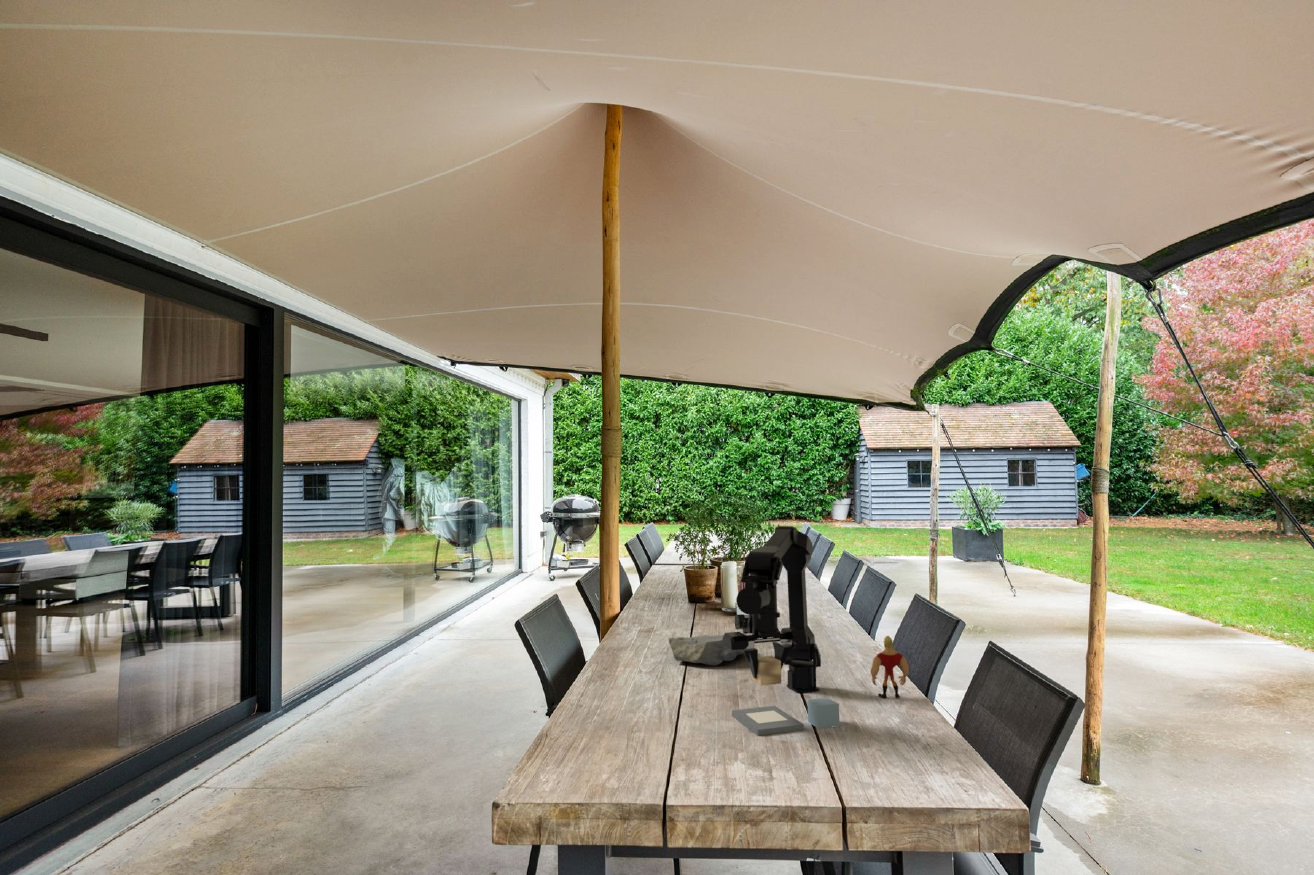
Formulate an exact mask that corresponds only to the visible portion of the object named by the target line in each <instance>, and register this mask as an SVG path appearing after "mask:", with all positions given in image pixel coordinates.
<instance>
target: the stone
mask: <svg viewBox="0 0 1314 875" xmlns="http://www.w3.org/2000/svg"><path fill="white" fill-rule="evenodd" d="M723 636H724V634H721V635H720V634H719V635H706V634H704V635H698V636H692V637H683V636H681V637H680V636H679V637H669V638H668V643H669V646H670V648H671V651H672V655H673V657H674V660H675V661H677V662H689V663H693V664H701V663H702V665H703V664H704V665H706V666H717V665H720V664H722V663H723V661H724V662H729V661H733V660H735V659H736V658H737V656H740V655H741V656H742V655H744V653H743V651H741V650H731V649H729V648H727V647H725V646H724V645H723Z"/></svg>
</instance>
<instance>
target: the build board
mask: <svg viewBox="0 0 1314 875" xmlns="http://www.w3.org/2000/svg"><path fill="white" fill-rule="evenodd" d="M731 716H732V717H733V718H734V719H735V718H736V719H735V720H737V721H738V722H739V723H740V722H741V725H743V726H744V727H746V728H747V729H748V730H750V731H751V732H752V731H753V732H752V733H753V734H755V735H756V736H764V735H765V736H766V735H773V734H780V733H789V732H791V733H792V732H795V731H796V732H797V731H798V732H799V731H804V730H805V728H804V727H805V726H804V725H805V724H804V723H803V722H801V721H799V720H798V719H796V718H795V717H793V716H792V715H790V714H788V713H787V712H786V711H783V710H782V709H781V708H779V707H778V706H776V705H769V706H760V707H751V708H743V709H742V708H741V709H734V710H731Z"/></svg>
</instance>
